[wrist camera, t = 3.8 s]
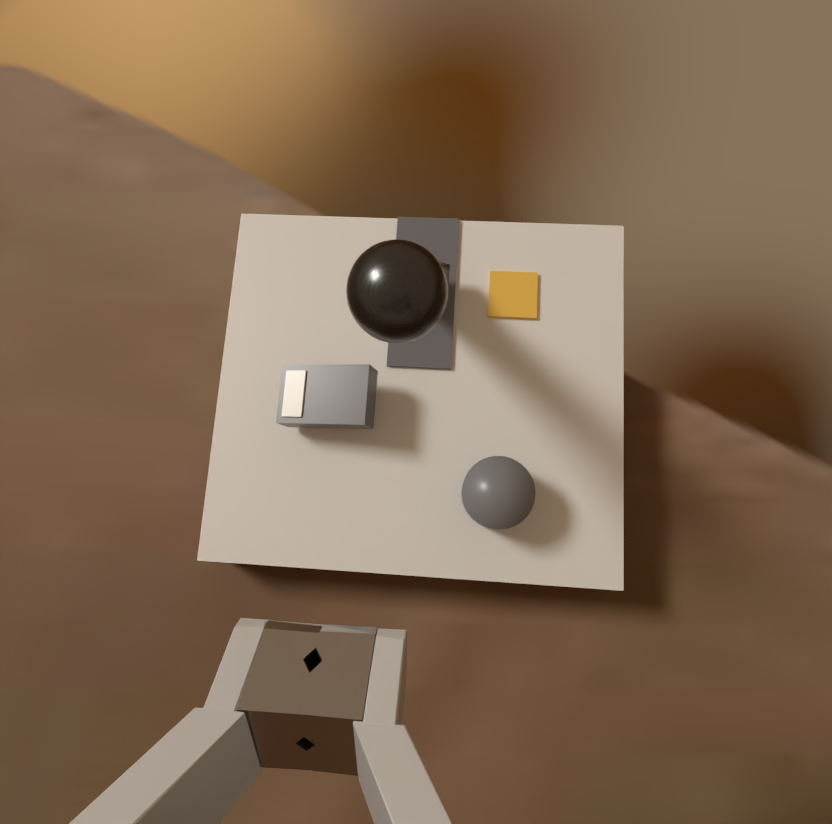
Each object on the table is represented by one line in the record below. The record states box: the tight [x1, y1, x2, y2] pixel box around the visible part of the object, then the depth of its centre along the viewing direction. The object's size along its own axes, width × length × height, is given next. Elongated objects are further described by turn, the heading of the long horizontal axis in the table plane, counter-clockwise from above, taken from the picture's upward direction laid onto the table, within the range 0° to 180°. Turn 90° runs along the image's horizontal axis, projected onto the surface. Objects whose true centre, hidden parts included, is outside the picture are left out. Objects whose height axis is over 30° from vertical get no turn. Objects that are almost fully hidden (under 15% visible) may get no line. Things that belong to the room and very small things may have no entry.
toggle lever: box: [346, 239, 450, 343], centre depth 23 cm, size 3×3×14 cm
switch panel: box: [197, 214, 624, 591], centre depth 30 cm, size 20×18×3 cm
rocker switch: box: [276, 364, 378, 429], centre depth 28 cm, size 4×3×1 cm, turn 86°
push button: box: [461, 456, 535, 529], centre depth 27 cm, size 3×3×2 cm
